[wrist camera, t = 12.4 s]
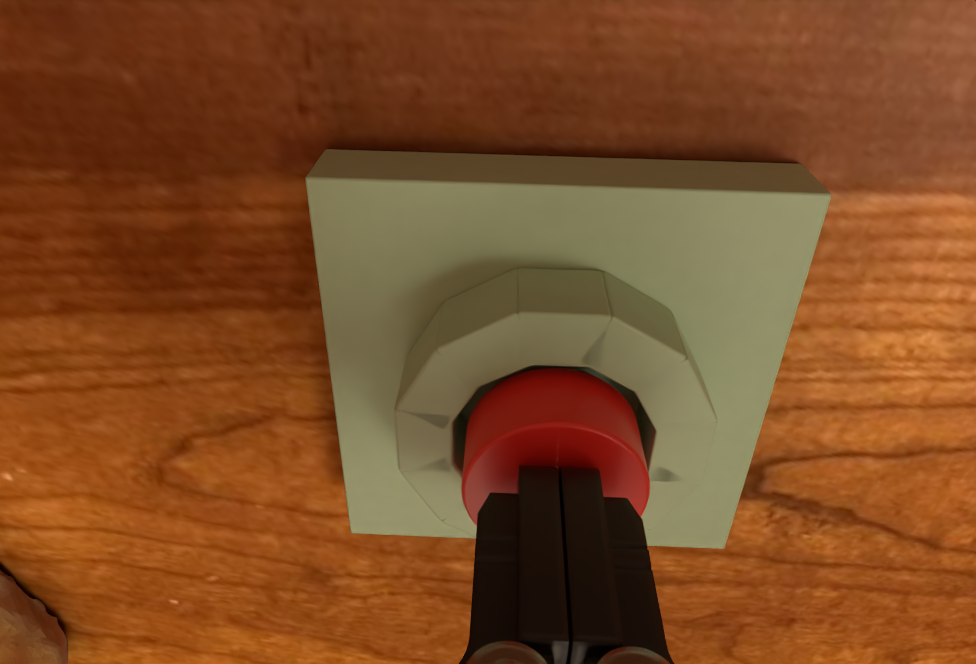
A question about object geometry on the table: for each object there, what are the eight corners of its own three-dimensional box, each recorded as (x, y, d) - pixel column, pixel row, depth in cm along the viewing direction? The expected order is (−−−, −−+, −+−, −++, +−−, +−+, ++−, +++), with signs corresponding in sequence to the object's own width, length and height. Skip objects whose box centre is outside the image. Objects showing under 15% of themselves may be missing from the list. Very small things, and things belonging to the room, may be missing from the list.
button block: (802, 162, 15) (874, 235, 12) (710, 501, 20) (743, 609, 17) (324, 147, 15) (276, 215, 12) (361, 487, 20) (335, 591, 17)
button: (649, 369, 14) (665, 427, 12) (626, 498, 16) (636, 562, 14) (466, 362, 14) (460, 420, 12) (466, 492, 16) (461, 554, 14)
